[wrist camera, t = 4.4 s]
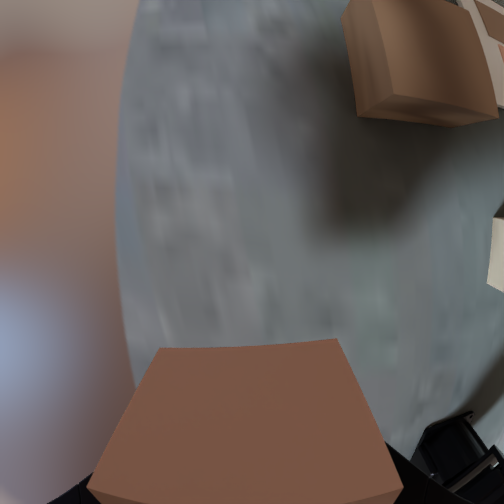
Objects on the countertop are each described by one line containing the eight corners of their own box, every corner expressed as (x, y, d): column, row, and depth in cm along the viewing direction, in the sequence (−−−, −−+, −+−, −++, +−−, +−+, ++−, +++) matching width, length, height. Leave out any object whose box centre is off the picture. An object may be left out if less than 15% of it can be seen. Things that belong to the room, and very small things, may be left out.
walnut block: (431, 38, 13) (468, 10, 8) (450, 128, 14) (499, 118, 9) (339, 19, 13) (363, -24, 8) (356, 117, 14) (393, 94, 10)
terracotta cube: (336, 338, 8) (403, 487, 3) (325, 447, 9) (349, 558, 4) (159, 347, 8) (86, 487, 3) (192, 452, 9) (168, 561, 4)
